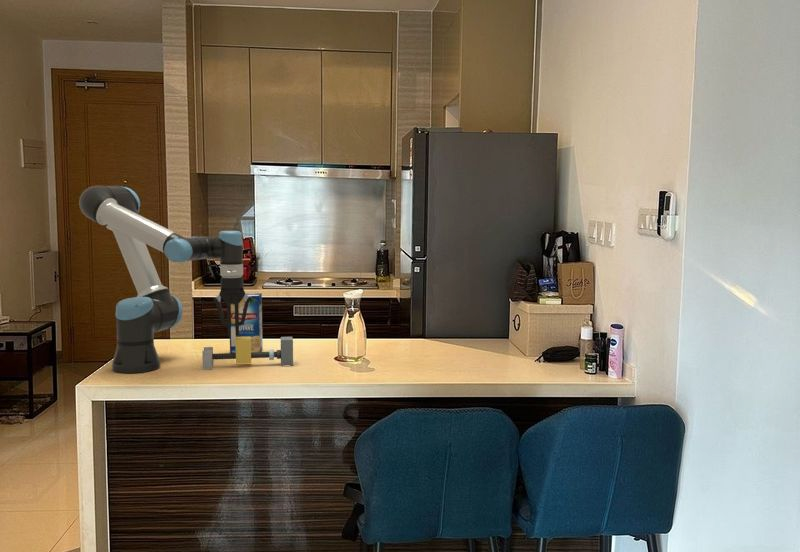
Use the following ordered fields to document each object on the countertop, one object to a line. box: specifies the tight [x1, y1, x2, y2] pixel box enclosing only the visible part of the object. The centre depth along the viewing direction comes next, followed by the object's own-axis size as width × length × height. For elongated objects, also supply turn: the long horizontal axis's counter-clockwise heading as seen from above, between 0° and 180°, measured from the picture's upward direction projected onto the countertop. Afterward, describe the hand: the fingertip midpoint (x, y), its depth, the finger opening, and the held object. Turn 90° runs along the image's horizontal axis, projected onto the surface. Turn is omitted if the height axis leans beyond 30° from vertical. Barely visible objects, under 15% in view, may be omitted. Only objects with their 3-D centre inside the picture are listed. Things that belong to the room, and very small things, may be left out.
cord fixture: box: [201, 336, 294, 371], centre depth 250 cm, size 30×8×9 cm, turn 101°
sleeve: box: [235, 336, 252, 364], centre depth 250 cm, size 5×6×8 cm
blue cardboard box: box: [229, 292, 264, 353], centre depth 269 cm, size 7×11×22 cm, turn 92°
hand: (233, 345), depth 249 cm, fingers closed
